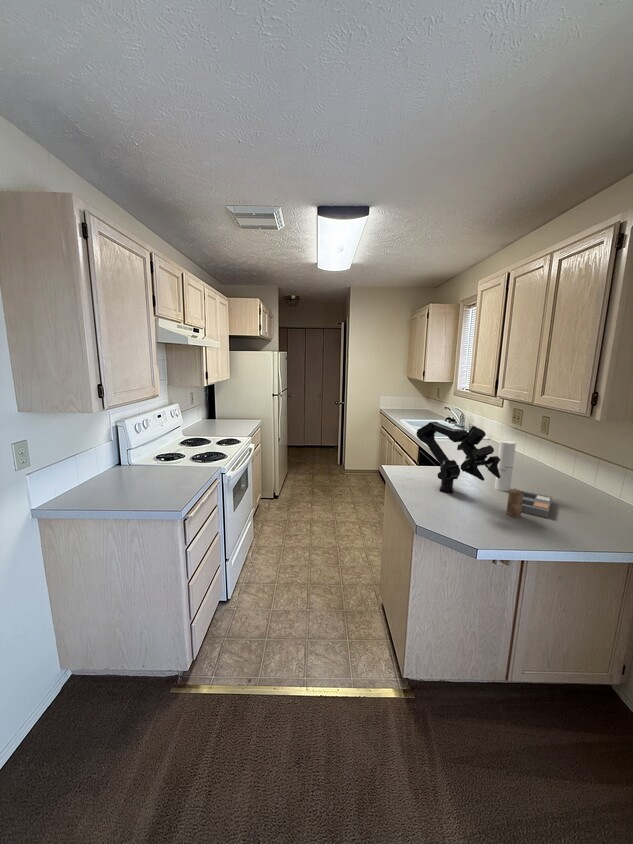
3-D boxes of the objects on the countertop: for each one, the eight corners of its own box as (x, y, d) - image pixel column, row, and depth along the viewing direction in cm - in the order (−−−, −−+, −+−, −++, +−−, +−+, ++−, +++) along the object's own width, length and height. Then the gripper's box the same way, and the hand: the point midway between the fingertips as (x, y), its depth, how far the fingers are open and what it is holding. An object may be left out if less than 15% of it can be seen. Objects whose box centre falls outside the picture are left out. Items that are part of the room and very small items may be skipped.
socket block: (510, 509, 155) (511, 502, 155) (516, 495, 171) (517, 489, 170) (547, 517, 147) (548, 510, 146) (550, 503, 163) (551, 496, 162)
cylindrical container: (512, 491, 176) (518, 443, 172) (496, 490, 177) (502, 443, 173) (507, 486, 183) (513, 440, 178) (492, 485, 184) (498, 439, 180)
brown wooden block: (506, 514, 150) (509, 490, 148) (511, 512, 152) (514, 488, 150) (515, 518, 146) (518, 493, 144) (520, 515, 149) (523, 491, 147)
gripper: (464, 441, 152) (485, 469, 142) (496, 438, 158) (518, 465, 148) (451, 457, 159) (471, 485, 149) (482, 454, 166) (503, 480, 156)
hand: (491, 479), depth 150 cm, fingers open, 9 cm apart
